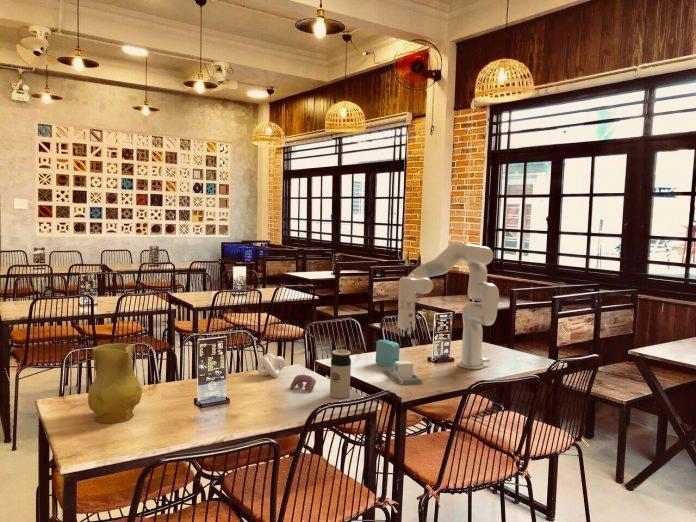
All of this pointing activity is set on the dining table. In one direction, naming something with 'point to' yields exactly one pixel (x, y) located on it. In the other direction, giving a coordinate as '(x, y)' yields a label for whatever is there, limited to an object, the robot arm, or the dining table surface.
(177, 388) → the dining table surface
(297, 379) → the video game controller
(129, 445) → the dining table surface
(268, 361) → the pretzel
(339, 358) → the travel mug
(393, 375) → the grey rectangular frame
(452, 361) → the dining table surface
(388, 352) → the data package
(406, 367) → the module
